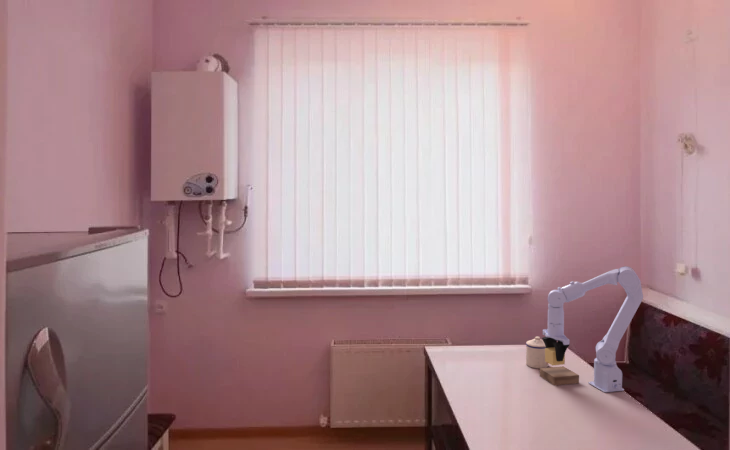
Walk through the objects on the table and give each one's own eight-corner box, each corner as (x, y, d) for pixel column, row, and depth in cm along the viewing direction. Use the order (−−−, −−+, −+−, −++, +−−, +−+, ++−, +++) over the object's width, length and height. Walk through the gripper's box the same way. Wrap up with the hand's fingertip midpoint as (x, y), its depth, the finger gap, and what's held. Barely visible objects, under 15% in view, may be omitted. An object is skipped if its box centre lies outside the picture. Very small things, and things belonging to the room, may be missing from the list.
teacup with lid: (552, 368, 212) (552, 340, 211) (529, 369, 212) (529, 340, 211) (542, 359, 224) (542, 331, 223) (520, 359, 224) (520, 332, 223)
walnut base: (578, 383, 197) (579, 375, 196) (554, 385, 195) (554, 377, 194) (563, 373, 206) (563, 366, 206) (539, 376, 204) (539, 368, 204)
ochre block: (564, 364, 197) (564, 350, 197) (552, 365, 196) (552, 352, 196) (556, 360, 202) (556, 347, 202) (545, 361, 201) (545, 348, 201)
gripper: (535, 318, 204) (535, 353, 205) (557, 328, 190) (556, 365, 191) (552, 317, 206) (551, 352, 207) (574, 326, 192) (574, 364, 193)
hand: (555, 358), depth 199 cm, fingers closed on ochre block, 5 cm apart
